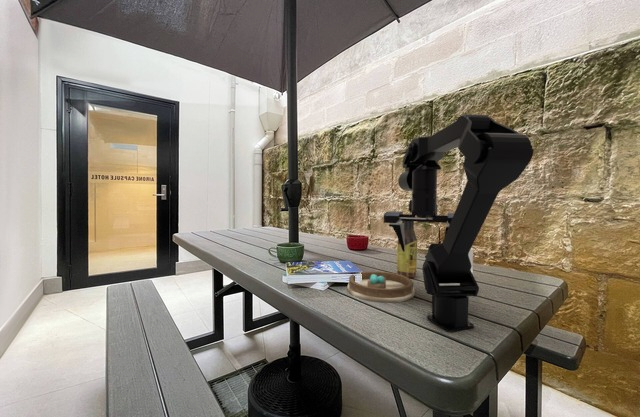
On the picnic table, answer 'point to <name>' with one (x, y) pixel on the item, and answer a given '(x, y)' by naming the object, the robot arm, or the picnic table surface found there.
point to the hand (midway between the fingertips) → (423, 252)
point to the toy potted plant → (376, 281)
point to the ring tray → (386, 300)
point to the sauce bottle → (407, 252)
